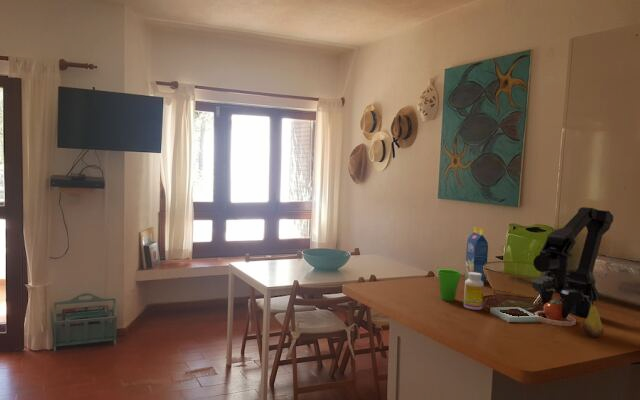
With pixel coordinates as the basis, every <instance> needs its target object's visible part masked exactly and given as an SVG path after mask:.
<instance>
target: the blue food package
mask: <svg viewBox="0 0 640 400" xmlns="http://www.w3.org/2000/svg"><path fill="white" fill-rule="evenodd" d="M488 252H489V244H488V241H487V239H486V238H485V237H484V235H483V228H479V227H476V226H474V227H473V232H472V233H471V234H470V235H469V236H468V238H467V241H466V252H465V254H466V256H465V268H464V278H465V280H467V279H469V277H468V273H469V272H476V273H480V274H482V277H481V281H483V283H484V284H486V283H487V282H486V281H487V275H486V276H485V274H484V271H483V265H484V264H485V263H487V264H488V255H489V253H488Z"/></svg>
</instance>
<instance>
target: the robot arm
mask: <svg viewBox="0 0 640 400" xmlns="http://www.w3.org/2000/svg"><path fill="white" fill-rule="evenodd" d="M613 221H614V214H612V212H611V211H609V210H601V209H596V208H594V207H587V206H586V207H585V206H582V207H579V209H578V211H577V213H576V214H574V216H573V217H572V218H571V219H570V220H569V221H568V222H567V223H566V224H565V225H564V226H563V227H561V228H559V229H556V230H554V231H552V232H551V233H550V234H549V235H548V237H547V239H546V241H545V242H544V243H543V247H542V248H541V250H540V251H539V254H537V255H536V256H535V258H534V259H533V267H534V268H535V270H537V271H538V272H539V273H545V274H544V276H540V277H538V278H536V279H533V280H532V281H531V282H532V288H533V289H534V291H535V292H536V293H538V294H539V296H540V299H541V303H542V306H543V308H544V305H545V304H546V303H547V302H550V300H553V299H552V298H553V295H554V293H556V294H559V297H560V298H558V299H559V300H558V301H561V302H562V318H563V320H567V319H566V318H567V316H568V315H570V313H571V314H573V315H576V316H578V317H583V318H584V317H586V318H587V316H588V314H589V310H590V307H591V306H592V305H594V302H598V300H599V296H600V293H599V291H598V289H597V287H596V278H595V275H594V269H595V265H596V261H597V257H598V253H599V250H600V246H601V242H602V238H603V236H604V235H605V234H606V233H607V232H608V231H610V228H611V225H612V224H613ZM584 228H586V231H587V233H586V237H585V240H584V243H583V246H582V251H581V255H580V258H579V262H578V266H577V268H576V269H575V270H573V271H572V270H571V271H570V273H568V271H569V270H568V268H569V258H571V257H572V256H573V255H572V253H570V251H571V250H572V249H573V248H574V246H575V245H576V238H577V236H578V235H579V234H580V233H581V232H582V230H583V229H584ZM586 297H587V298H588V300H589V301H590V303H591V304H592V305H591V304H590V303H589V301H588V300H587V299H586Z"/></svg>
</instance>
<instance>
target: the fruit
mask: <svg viewBox="0 0 640 400" xmlns="http://www.w3.org/2000/svg"><path fill="white" fill-rule="evenodd" d="M586 299H587V300H588V298H587V297H586ZM588 301H589V300H588ZM589 303H590V301H589ZM590 304H591V303H590ZM591 305H592V304H591ZM582 331H583V332H584V333H585V335H587V336H588V337H590V338H599V337H601V336H602V335H603V333H604V325H603V323H602V320H601V316H600V313H599V310H598V308H597V306H595V305H594V304H593V305H592V306H591V307H590V310H589V314H588V316H587V317H586V318H585V320H584V321H583V322H582Z"/></svg>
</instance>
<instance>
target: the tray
mask: <svg viewBox="0 0 640 400" xmlns="http://www.w3.org/2000/svg"><path fill="white" fill-rule="evenodd" d="M509 309H518V310H520V311H523V312H524V313H527V314H528V315H529V316H519V317H518V316H512V315H509V314H506V313H502V312H500V310H509ZM489 313H490V314H492V315H493V316H495V317H498V318H499V319H501V320H503V321H505V322H507V323H509V322H519V323H540V321H539V319H540V317H539V316H537V315H534V313H532V312H530V311H528V310H526V309H524V308H522V307H518V306H517V307H514V306H512V307H509V306H508V307H490V310H489Z"/></svg>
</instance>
